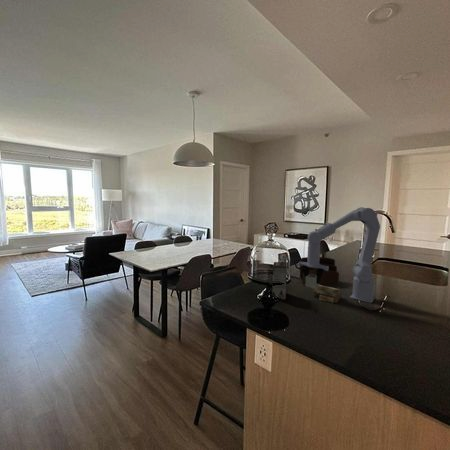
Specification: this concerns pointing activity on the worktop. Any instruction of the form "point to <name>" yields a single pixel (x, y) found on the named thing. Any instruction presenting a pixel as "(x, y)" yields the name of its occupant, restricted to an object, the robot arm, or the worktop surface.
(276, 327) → the worktop surface
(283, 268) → the coffee box
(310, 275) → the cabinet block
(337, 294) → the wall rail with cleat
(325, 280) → the letter holder
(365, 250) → the robot arm
